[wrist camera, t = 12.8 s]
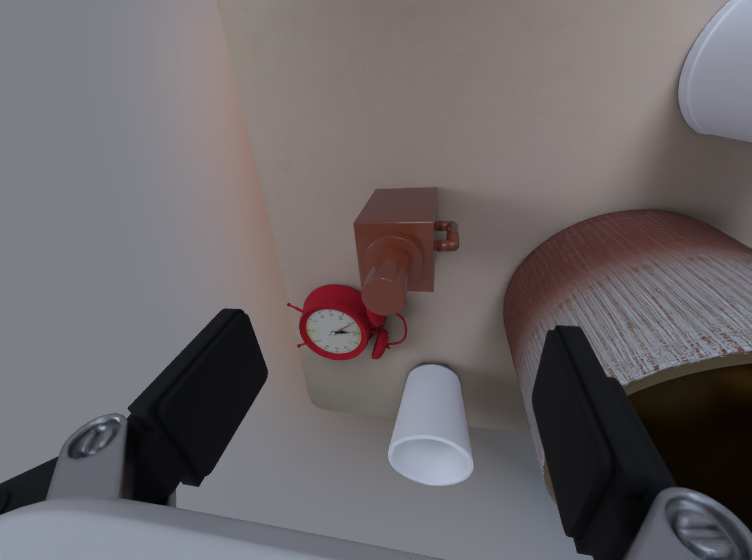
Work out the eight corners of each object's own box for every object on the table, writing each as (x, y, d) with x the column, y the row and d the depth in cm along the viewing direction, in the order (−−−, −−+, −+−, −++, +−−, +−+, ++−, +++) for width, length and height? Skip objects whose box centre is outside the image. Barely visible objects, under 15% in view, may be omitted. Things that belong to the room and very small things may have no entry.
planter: (777, 204, 29) (1216, 370, 13) (675, 377, 41) (835, 587, 24) (517, 202, 34) (586, 326, 17) (490, 360, 45) (515, 529, 28)
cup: (398, 351, 47) (384, 431, 36) (469, 355, 45) (476, 441, 34) (402, 398, 52) (390, 480, 41) (466, 404, 50) (471, 492, 39)
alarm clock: (279, 297, 41) (390, 319, 35) (307, 273, 46) (408, 289, 40) (295, 358, 46) (395, 386, 41) (319, 331, 51) (410, 352, 46)
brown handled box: (375, 189, 36) (331, 255, 22) (458, 186, 34) (465, 256, 20) (380, 244, 39) (344, 331, 26) (455, 244, 37) (460, 338, 24)
